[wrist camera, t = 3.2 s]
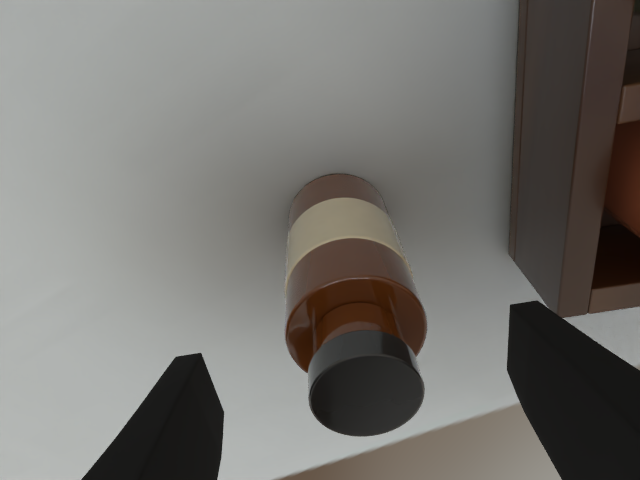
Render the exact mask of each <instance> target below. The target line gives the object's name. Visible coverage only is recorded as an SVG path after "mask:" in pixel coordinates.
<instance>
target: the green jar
mask: <svg viewBox="0 0 640 480" xmlns="http://www.w3.org/2000/svg"><path fill="white" fill-rule="evenodd" d="M633 16H638V17H640V0H635V4H634V11H633Z"/></svg>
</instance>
